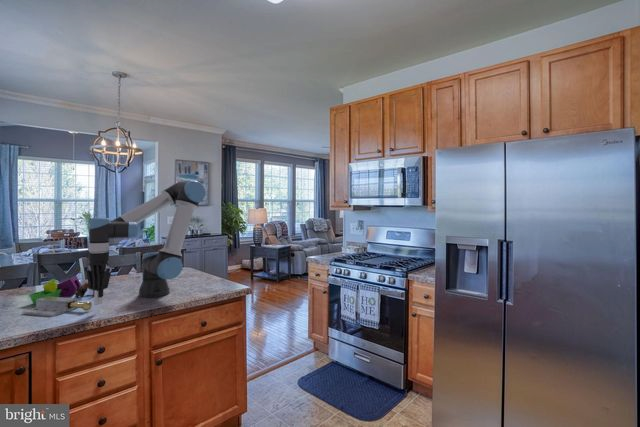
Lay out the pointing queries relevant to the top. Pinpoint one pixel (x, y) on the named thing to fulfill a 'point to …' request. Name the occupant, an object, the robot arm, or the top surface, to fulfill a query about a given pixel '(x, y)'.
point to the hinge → (51, 306)
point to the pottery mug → (82, 290)
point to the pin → (81, 305)
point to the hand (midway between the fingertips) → (98, 304)
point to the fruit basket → (46, 291)
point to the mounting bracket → (69, 286)
